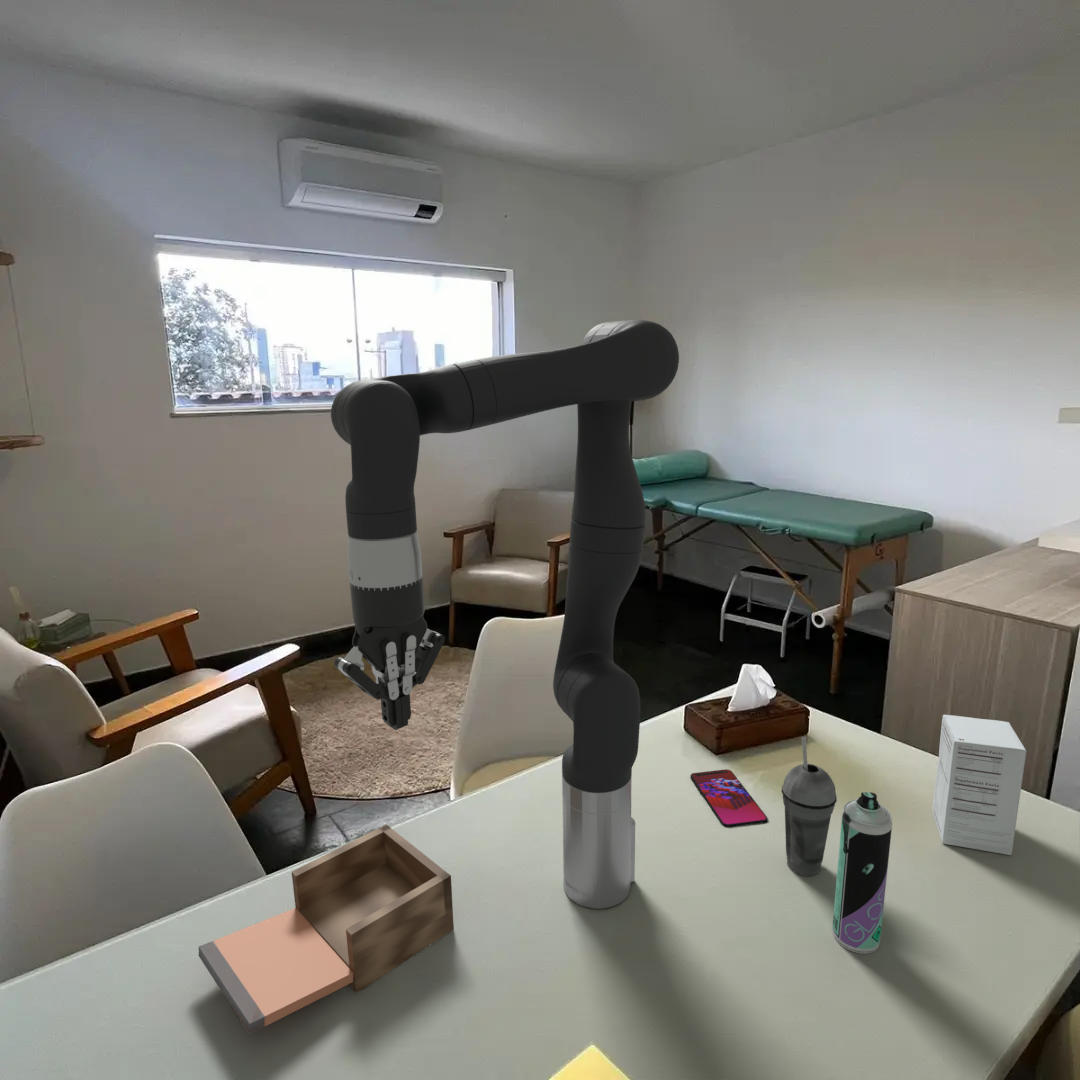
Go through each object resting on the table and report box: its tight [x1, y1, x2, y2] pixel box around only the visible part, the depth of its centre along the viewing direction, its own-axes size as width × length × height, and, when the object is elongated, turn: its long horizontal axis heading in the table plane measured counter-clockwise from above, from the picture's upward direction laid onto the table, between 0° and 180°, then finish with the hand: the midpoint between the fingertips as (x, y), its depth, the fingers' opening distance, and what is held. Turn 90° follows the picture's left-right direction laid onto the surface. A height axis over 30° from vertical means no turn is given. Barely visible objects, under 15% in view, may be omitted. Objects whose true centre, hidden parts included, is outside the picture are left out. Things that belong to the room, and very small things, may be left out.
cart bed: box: [291, 824, 455, 994], centre depth 94 cm, size 14×15×8 cm
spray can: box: [831, 791, 893, 955], centre depth 89 cm, size 6×6×20 cm
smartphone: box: [690, 768, 768, 828], centre depth 121 cm, size 8×1×15 cm
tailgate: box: [198, 907, 354, 1035], centre depth 85 cm, size 1×15×12 cm
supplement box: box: [931, 714, 1027, 856], centre depth 109 cm, size 10×9×17 cm
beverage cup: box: [780, 736, 838, 877], centre depth 102 cm, size 7×7×20 cm
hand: (397, 725), depth 81 cm, fingers closed
